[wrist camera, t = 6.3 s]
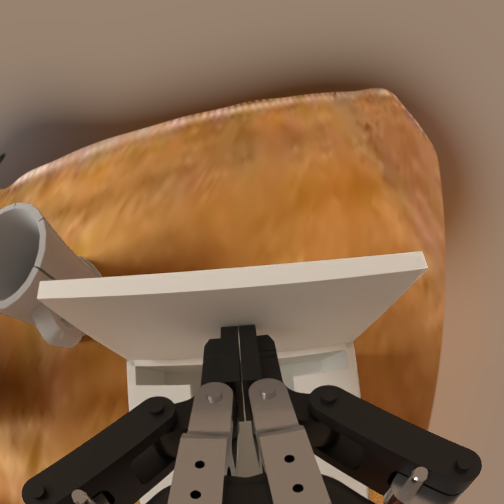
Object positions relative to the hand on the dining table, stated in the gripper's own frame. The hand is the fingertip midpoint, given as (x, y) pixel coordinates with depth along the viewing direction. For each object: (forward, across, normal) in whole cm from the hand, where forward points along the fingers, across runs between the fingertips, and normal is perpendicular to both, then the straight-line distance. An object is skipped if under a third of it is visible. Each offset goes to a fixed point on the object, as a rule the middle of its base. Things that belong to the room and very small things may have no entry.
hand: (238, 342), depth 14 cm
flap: (+4, 0, +4) cm, 6 cm away
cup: (+15, +17, +6) cm, 23 cm away
